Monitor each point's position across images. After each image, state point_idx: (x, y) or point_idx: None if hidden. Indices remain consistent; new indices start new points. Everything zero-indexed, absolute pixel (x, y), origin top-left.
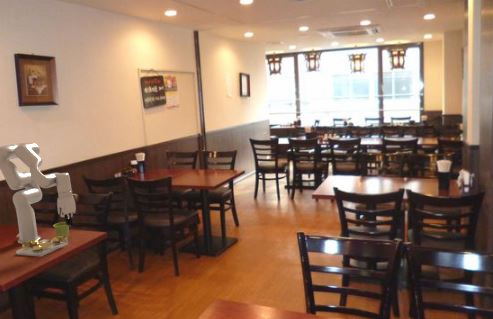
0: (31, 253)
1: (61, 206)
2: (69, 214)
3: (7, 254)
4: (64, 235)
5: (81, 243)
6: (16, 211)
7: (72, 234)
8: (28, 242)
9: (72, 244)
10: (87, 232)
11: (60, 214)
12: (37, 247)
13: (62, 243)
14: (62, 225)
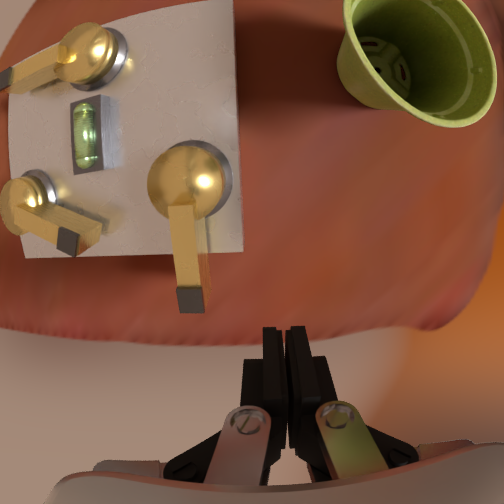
0: None
1: None
2: (355, 463)
3: (24, 28)
4: (366, 100)
5: (285, 324)
6: None
7: None
8: (26, 78)
9: (253, 278)
10: (486, 190)
11: (121, 479)
12: (9, 229)
13: None
14: (451, 25)
